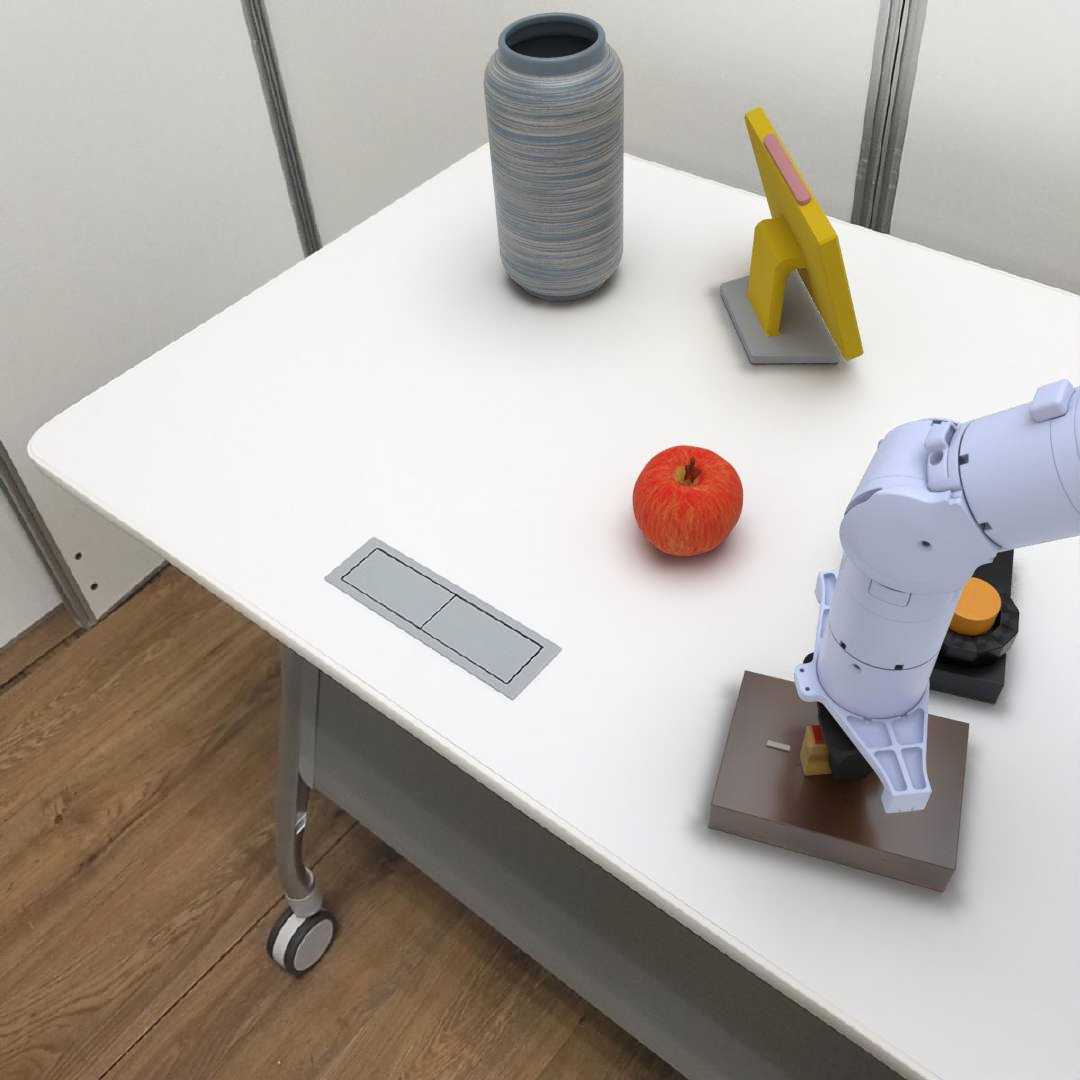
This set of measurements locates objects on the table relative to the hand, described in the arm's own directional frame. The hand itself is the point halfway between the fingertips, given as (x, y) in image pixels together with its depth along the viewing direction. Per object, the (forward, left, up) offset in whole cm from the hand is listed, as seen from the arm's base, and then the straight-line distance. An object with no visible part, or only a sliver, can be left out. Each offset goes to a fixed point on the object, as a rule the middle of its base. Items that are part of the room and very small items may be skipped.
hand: (844, 758), depth 66 cm
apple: (+14, -18, -4) cm, 23 cm away
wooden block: (0, 0, 0) cm, 0 cm away
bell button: (-6, -13, 0) cm, 14 cm away
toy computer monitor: (+12, -45, -4) cm, 47 cm away
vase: (+33, -47, -4) cm, 58 cm away
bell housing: (-4, -15, -3) cm, 16 cm away
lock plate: (0, 0, -3) cm, 3 cm away
